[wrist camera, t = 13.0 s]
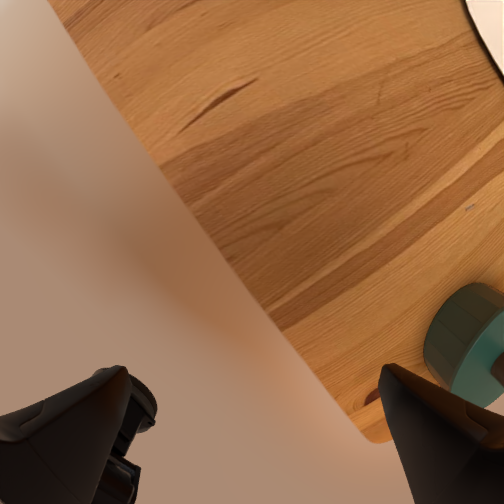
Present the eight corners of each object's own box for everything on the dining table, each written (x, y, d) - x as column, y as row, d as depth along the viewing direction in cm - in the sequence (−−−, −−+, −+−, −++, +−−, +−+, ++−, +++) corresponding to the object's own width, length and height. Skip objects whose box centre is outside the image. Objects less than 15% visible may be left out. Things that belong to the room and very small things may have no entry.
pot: (432, 390, 23) (456, 424, 17) (412, 323, 21) (446, 359, 15) (499, 336, 21) (529, 360, 15) (490, 262, 19) (531, 281, 14)
